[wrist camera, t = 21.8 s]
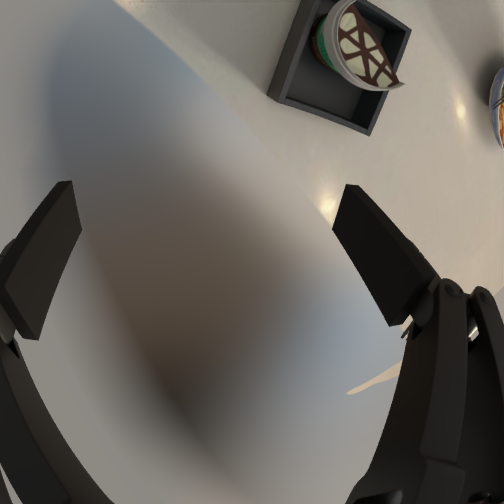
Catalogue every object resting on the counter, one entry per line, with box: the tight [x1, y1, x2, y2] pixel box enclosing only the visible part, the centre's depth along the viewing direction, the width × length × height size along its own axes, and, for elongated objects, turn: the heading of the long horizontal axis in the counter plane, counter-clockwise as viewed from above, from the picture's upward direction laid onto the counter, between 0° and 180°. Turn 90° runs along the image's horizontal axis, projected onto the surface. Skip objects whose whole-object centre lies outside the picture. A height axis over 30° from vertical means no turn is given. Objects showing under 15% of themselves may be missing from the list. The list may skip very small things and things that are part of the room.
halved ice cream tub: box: [309, 0, 405, 91], centre depth 26 cm, size 12×6×10 cm, turn 38°
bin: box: [267, 0, 412, 136], centre depth 28 cm, size 14×18×6 cm
